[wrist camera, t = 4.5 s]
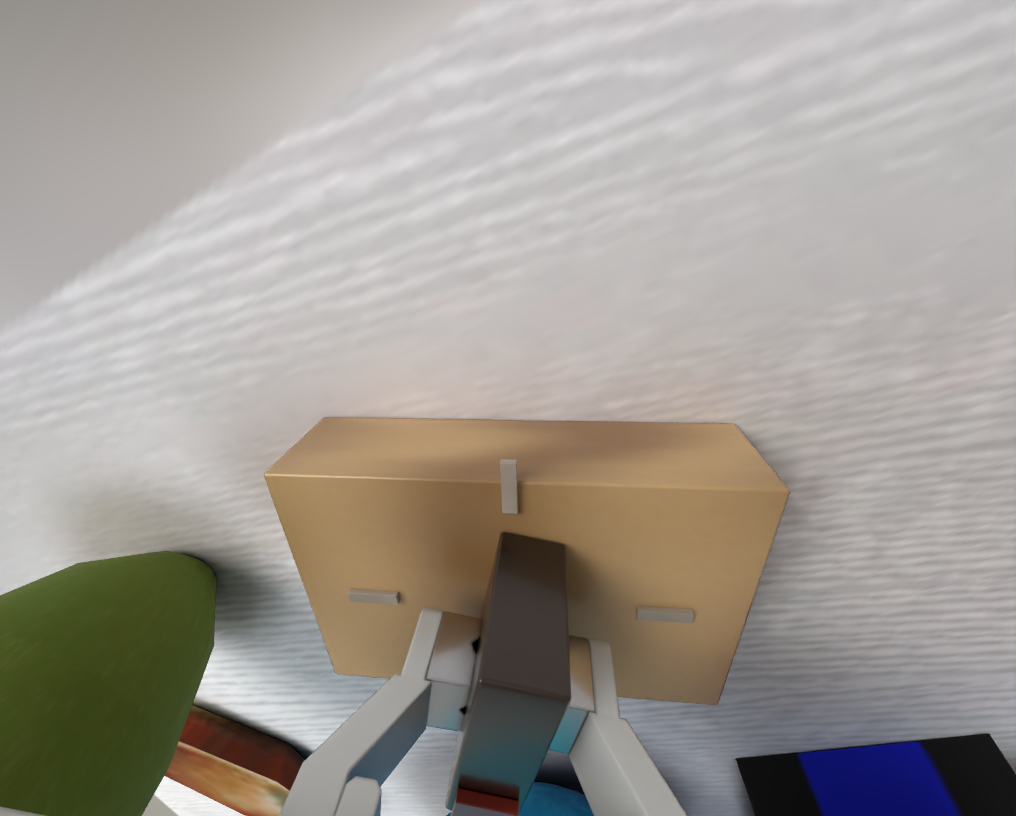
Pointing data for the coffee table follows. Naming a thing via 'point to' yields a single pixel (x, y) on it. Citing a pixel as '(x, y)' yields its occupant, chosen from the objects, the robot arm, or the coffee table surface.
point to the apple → (100, 681)
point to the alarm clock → (885, 780)
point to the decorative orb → (554, 802)
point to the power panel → (534, 534)
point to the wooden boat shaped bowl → (234, 764)
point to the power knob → (514, 680)
